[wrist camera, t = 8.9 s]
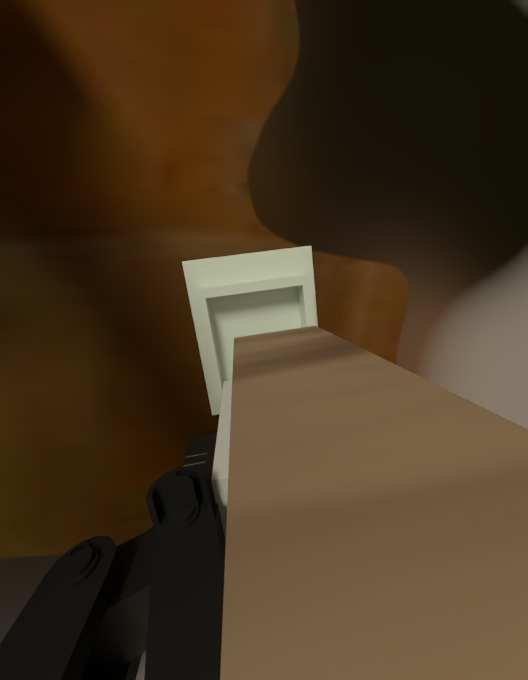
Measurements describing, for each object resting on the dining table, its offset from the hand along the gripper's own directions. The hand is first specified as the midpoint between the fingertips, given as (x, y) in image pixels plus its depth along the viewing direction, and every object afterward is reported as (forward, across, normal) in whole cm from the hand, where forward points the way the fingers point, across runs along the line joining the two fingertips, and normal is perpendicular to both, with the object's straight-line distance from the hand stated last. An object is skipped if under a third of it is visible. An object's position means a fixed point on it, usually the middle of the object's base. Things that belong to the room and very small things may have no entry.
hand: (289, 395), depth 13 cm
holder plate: (+17, 0, 0) cm, 17 cm away
